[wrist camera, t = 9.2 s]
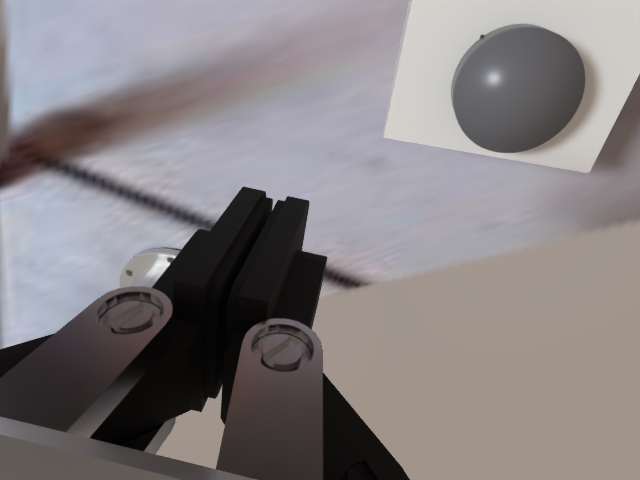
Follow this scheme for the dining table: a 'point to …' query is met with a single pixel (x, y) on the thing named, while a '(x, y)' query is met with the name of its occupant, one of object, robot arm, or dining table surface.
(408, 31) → the control box
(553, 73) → the knob
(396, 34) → the dining table surface
